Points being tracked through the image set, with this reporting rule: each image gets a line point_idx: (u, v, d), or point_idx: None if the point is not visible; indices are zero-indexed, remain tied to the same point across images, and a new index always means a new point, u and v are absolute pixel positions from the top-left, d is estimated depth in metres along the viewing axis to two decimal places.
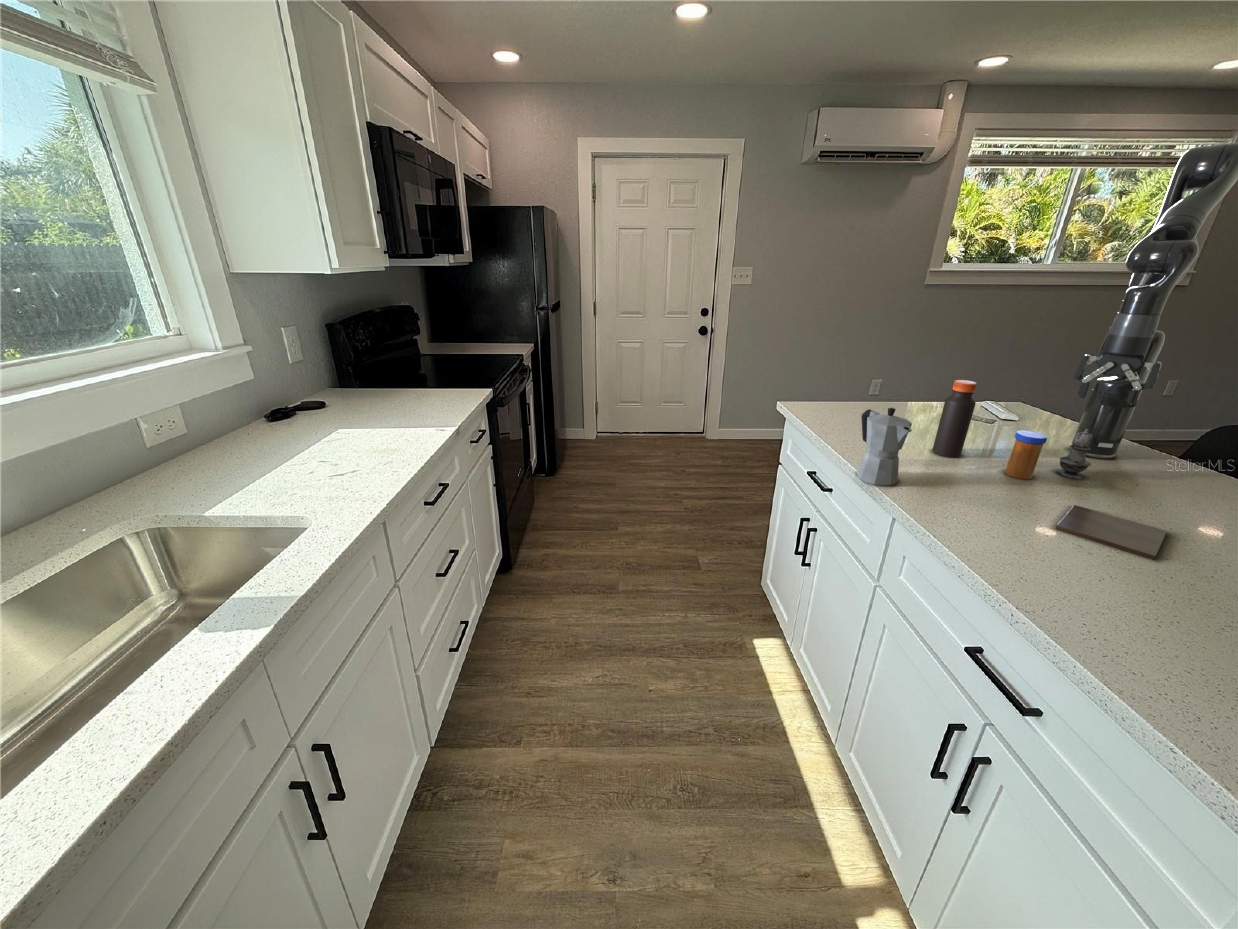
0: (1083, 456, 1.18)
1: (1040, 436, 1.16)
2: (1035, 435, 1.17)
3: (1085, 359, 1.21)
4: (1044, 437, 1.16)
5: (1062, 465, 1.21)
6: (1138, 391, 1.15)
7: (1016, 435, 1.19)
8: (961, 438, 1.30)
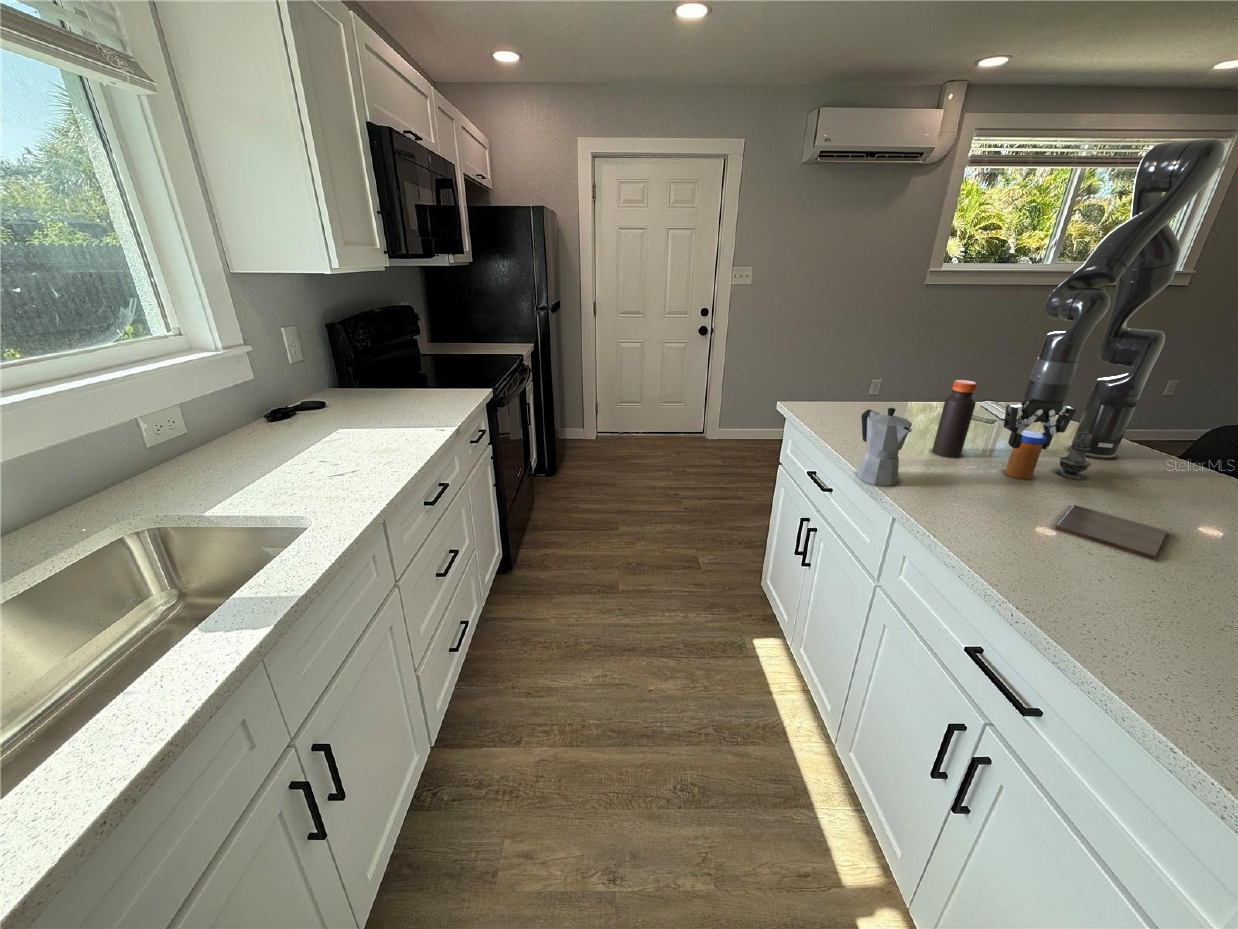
0: (1083, 456, 1.18)
1: (1040, 436, 1.16)
2: (1035, 435, 1.17)
3: (1016, 411, 1.15)
4: (1044, 437, 1.16)
5: (1062, 465, 1.21)
6: (1051, 435, 1.17)
7: None
8: (961, 438, 1.30)
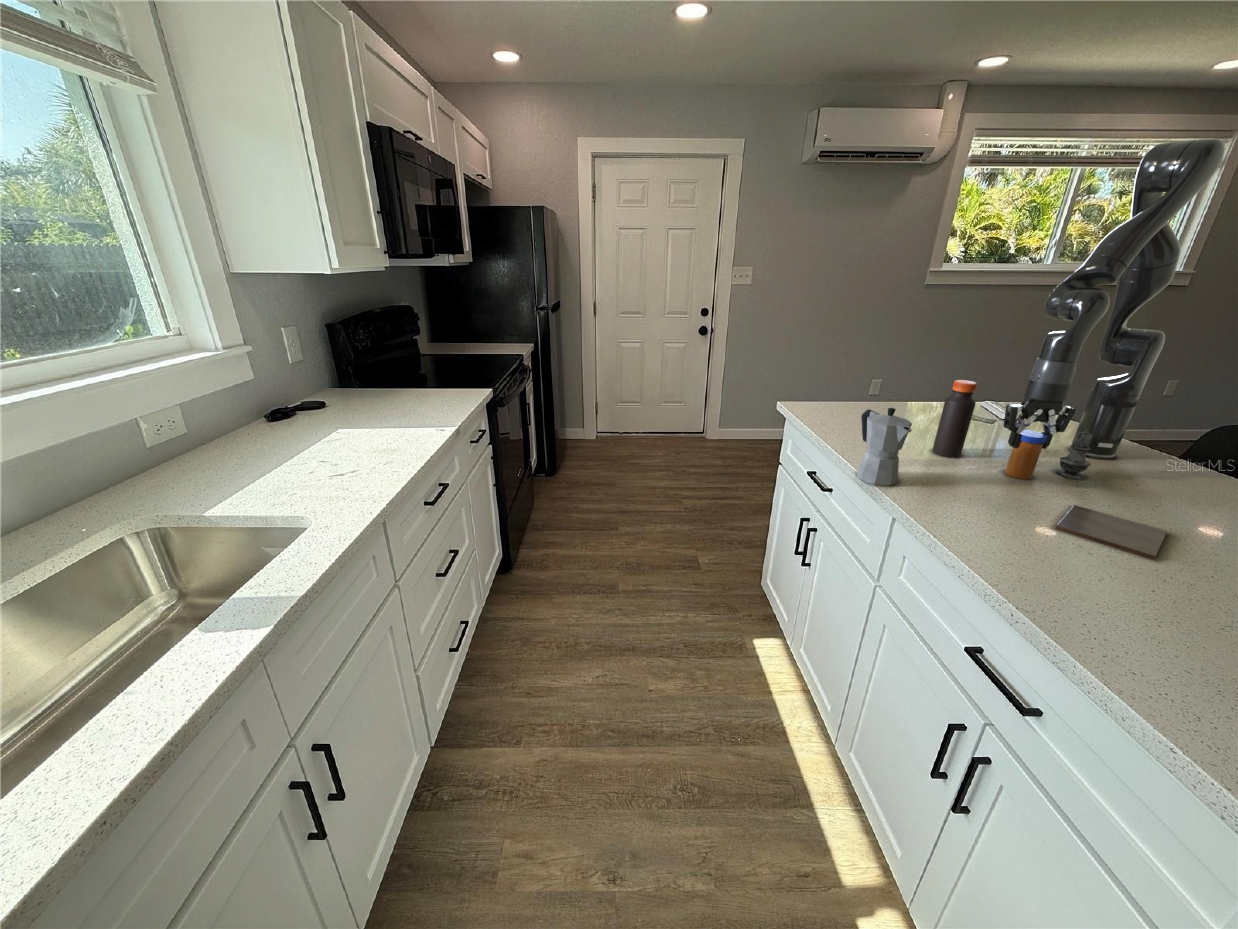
0: (1083, 456, 1.18)
1: (1036, 432, 1.18)
2: (1035, 433, 1.18)
3: (1015, 410, 1.15)
4: (1037, 432, 1.19)
5: (1062, 465, 1.21)
6: (1051, 435, 1.17)
7: (1034, 440, 1.16)
8: (961, 438, 1.30)
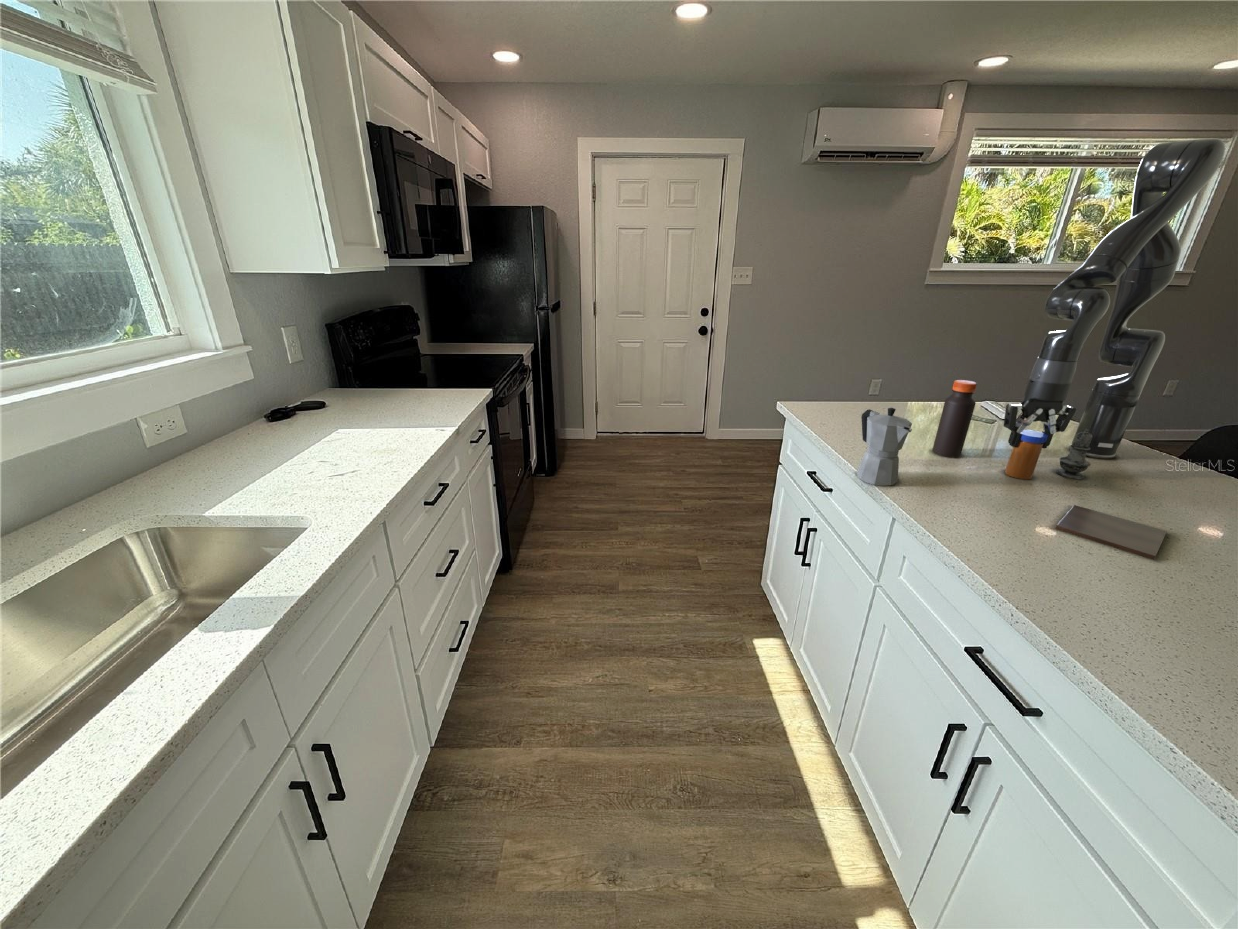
0: (1083, 456, 1.18)
1: (1024, 431, 1.19)
2: (1028, 432, 1.19)
3: (1015, 410, 1.15)
4: None
5: (1062, 465, 1.21)
6: (1052, 434, 1.17)
7: None
8: (961, 438, 1.30)
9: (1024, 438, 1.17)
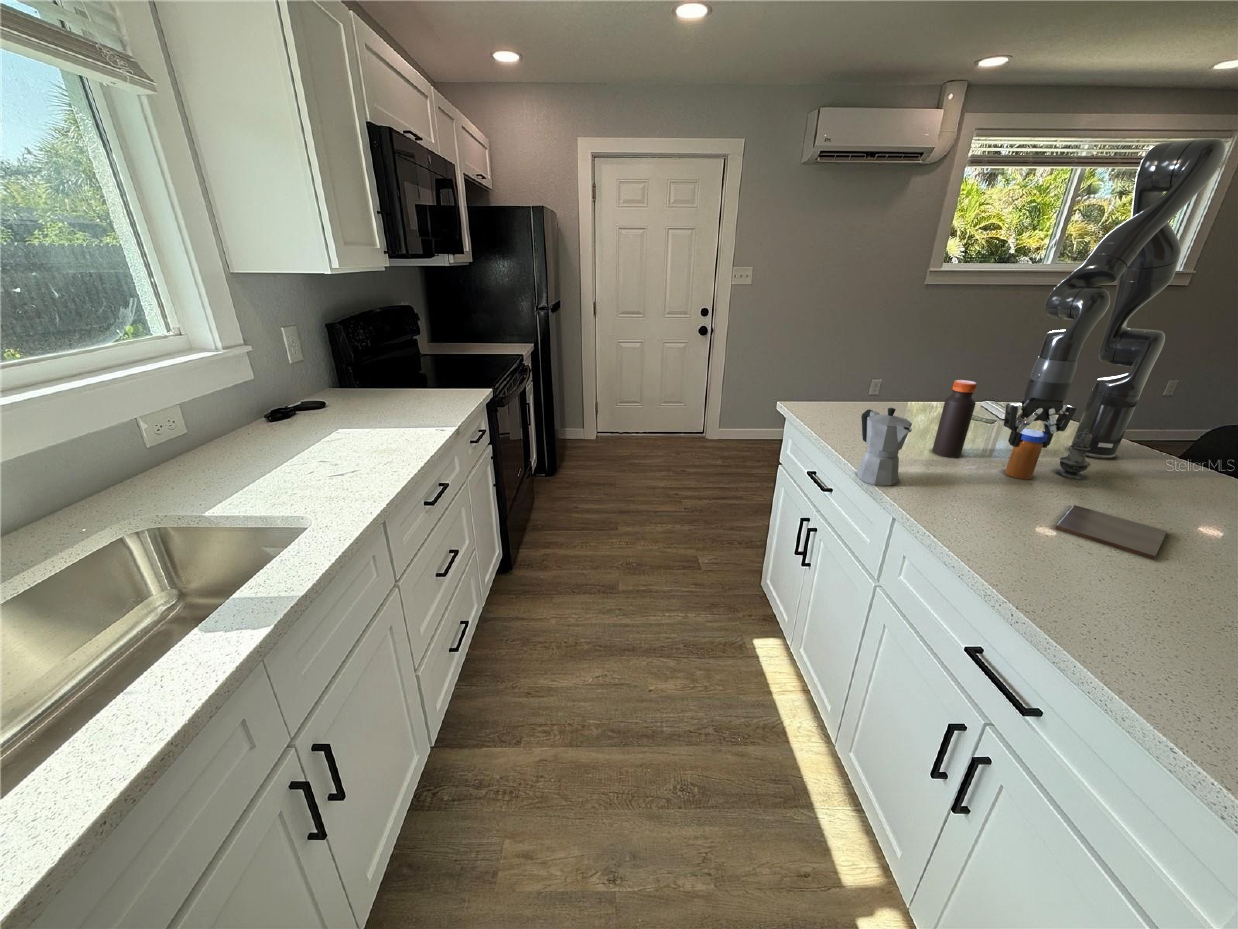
0: (1083, 456, 1.18)
1: (1027, 433, 1.17)
2: (1028, 432, 1.18)
3: (1016, 409, 1.15)
4: (1026, 434, 1.17)
5: (1062, 465, 1.21)
6: (1052, 434, 1.17)
7: None
8: (961, 438, 1.30)
9: (1045, 439, 1.16)
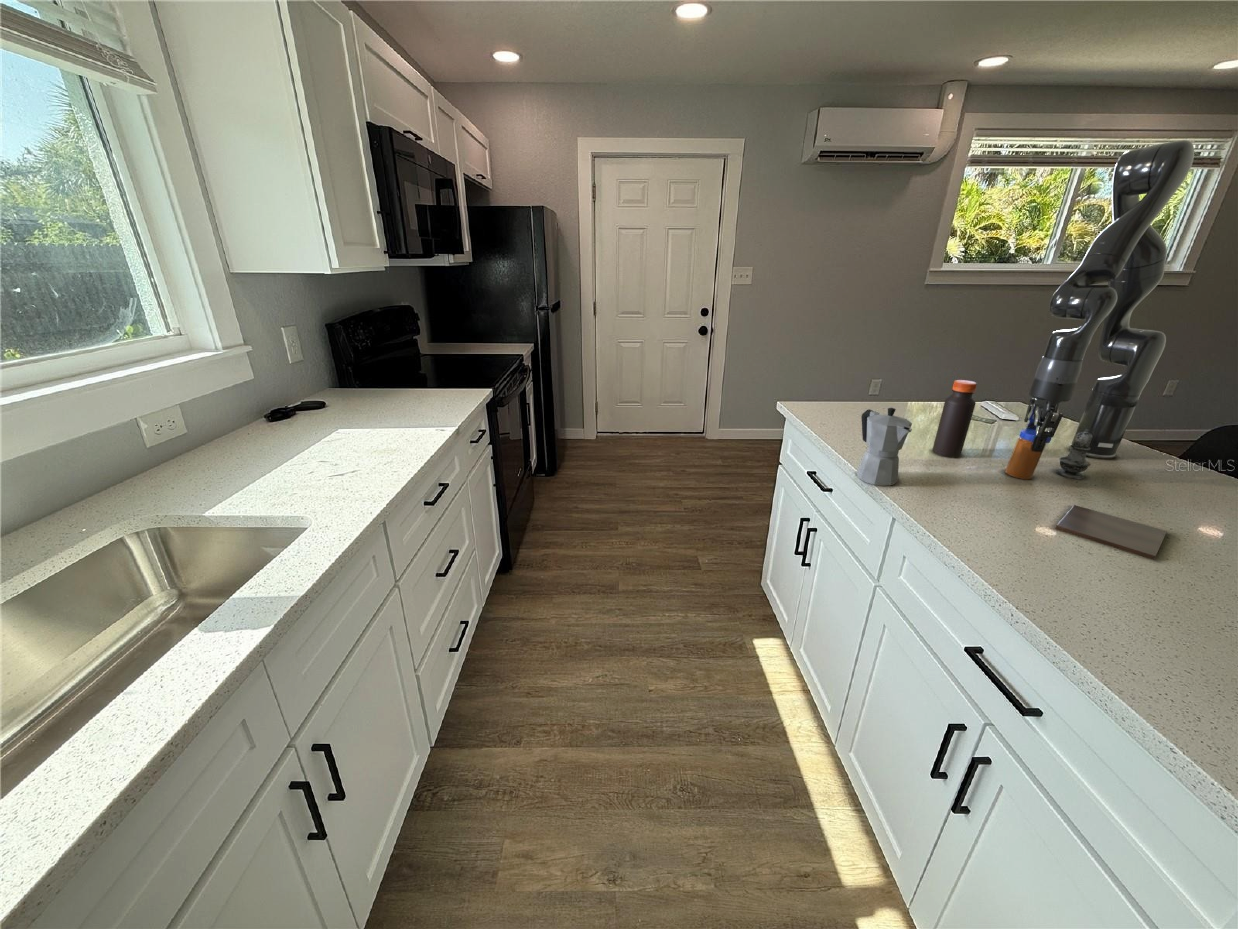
0: (1083, 456, 1.18)
1: None
2: None
3: None
4: None
5: (1062, 465, 1.21)
6: None
7: None
8: (961, 438, 1.30)
9: None
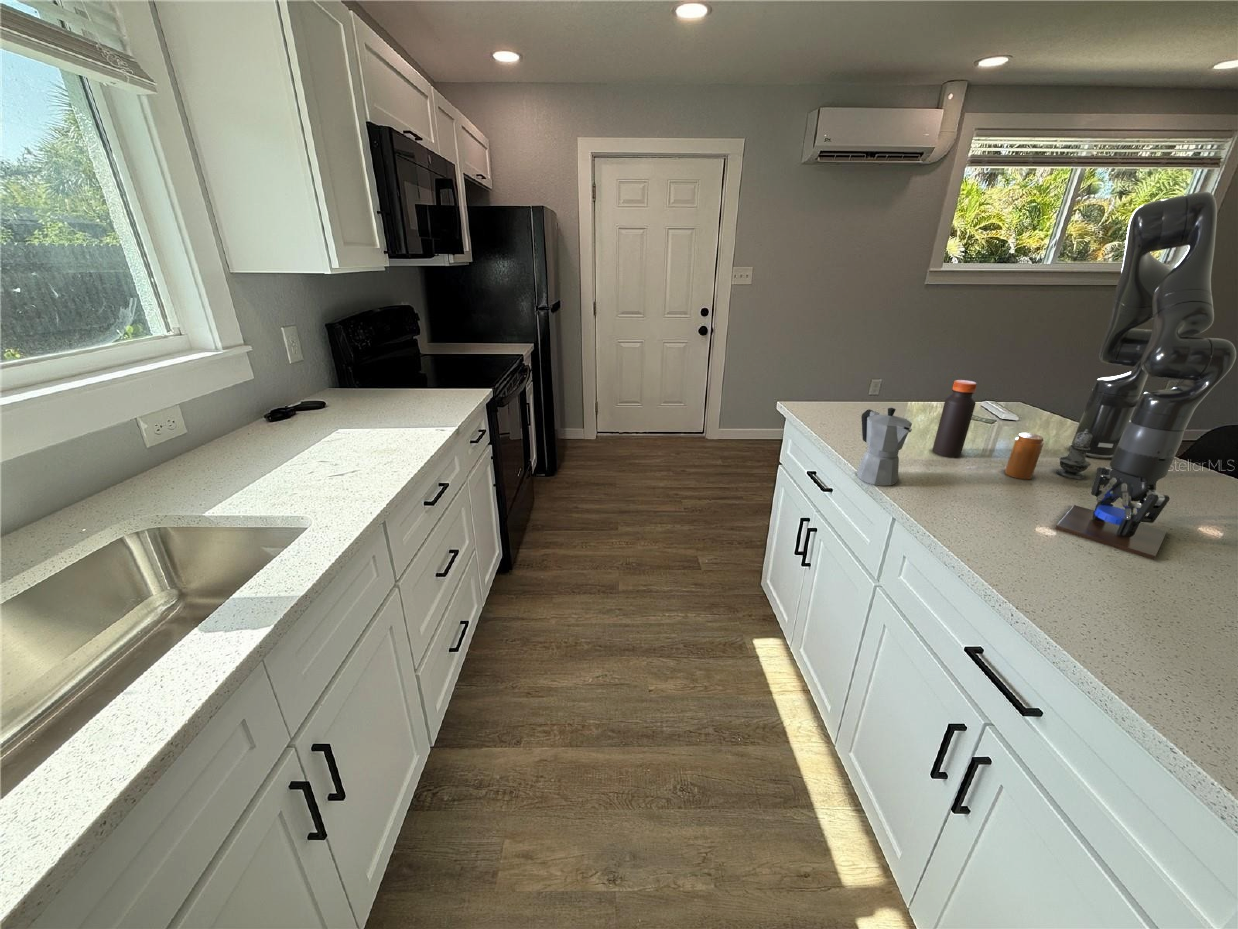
0: (1083, 456, 1.18)
1: None
2: (1122, 514, 0.94)
3: None
4: None
5: (1062, 465, 1.21)
6: None
7: (1097, 511, 0.96)
8: (961, 438, 1.30)
9: None
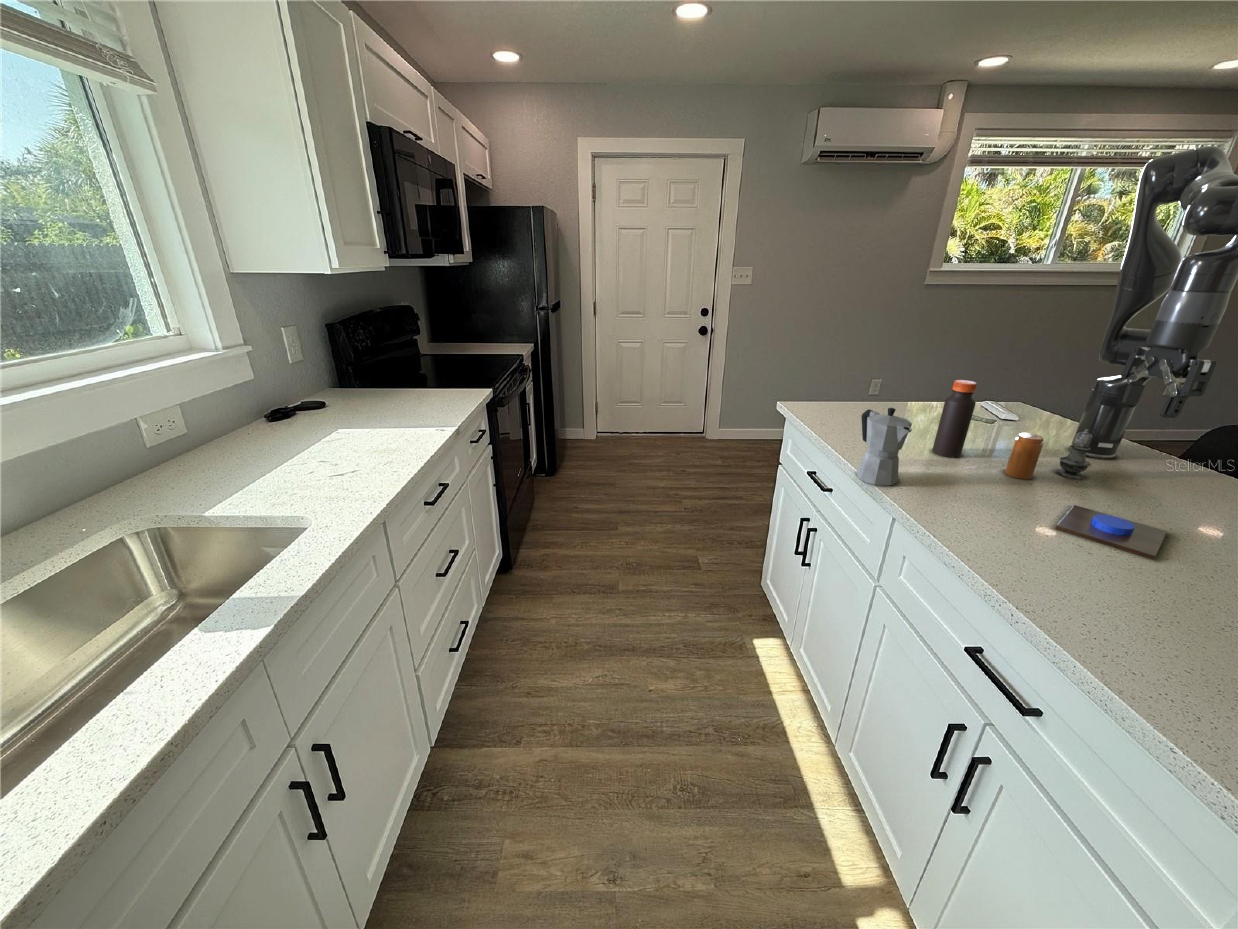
0: (1083, 456, 1.18)
1: (1125, 525, 0.94)
2: (1118, 523, 0.95)
3: None
4: (1130, 527, 0.94)
5: (1062, 465, 1.21)
6: None
7: (1093, 521, 0.97)
8: (961, 438, 1.30)
9: None
